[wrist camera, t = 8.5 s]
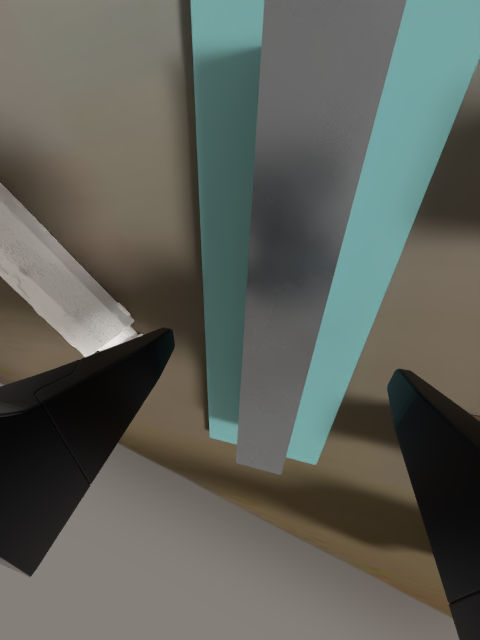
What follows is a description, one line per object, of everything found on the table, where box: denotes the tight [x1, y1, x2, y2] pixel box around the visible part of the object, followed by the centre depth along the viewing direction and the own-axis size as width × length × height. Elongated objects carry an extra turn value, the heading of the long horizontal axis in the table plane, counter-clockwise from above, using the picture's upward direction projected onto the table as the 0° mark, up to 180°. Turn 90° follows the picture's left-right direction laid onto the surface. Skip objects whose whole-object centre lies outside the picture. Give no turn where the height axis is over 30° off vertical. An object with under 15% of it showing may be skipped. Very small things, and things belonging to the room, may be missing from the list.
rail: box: [236, 0, 407, 475], centre depth 11 cm, size 20×3×3 cm, turn 178°
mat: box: [191, 0, 480, 465], centre depth 13 cm, size 26×9×1 cm, turn 178°
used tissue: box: [0, 183, 143, 357], centre depth 14 cm, size 11×18×4 cm, turn 26°
